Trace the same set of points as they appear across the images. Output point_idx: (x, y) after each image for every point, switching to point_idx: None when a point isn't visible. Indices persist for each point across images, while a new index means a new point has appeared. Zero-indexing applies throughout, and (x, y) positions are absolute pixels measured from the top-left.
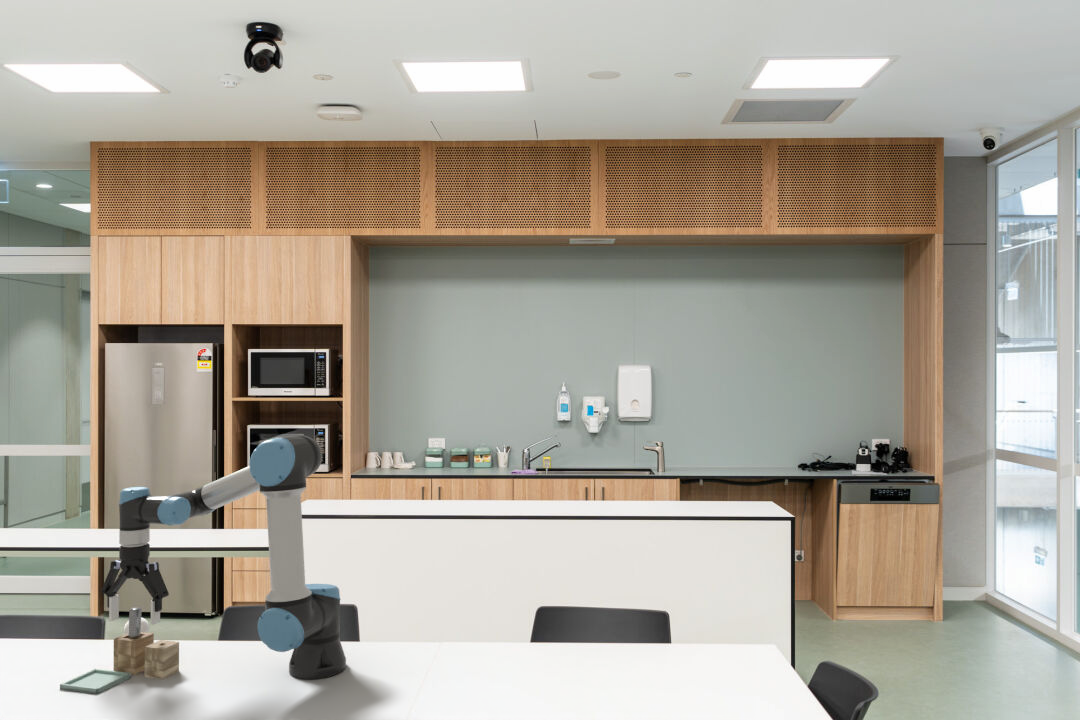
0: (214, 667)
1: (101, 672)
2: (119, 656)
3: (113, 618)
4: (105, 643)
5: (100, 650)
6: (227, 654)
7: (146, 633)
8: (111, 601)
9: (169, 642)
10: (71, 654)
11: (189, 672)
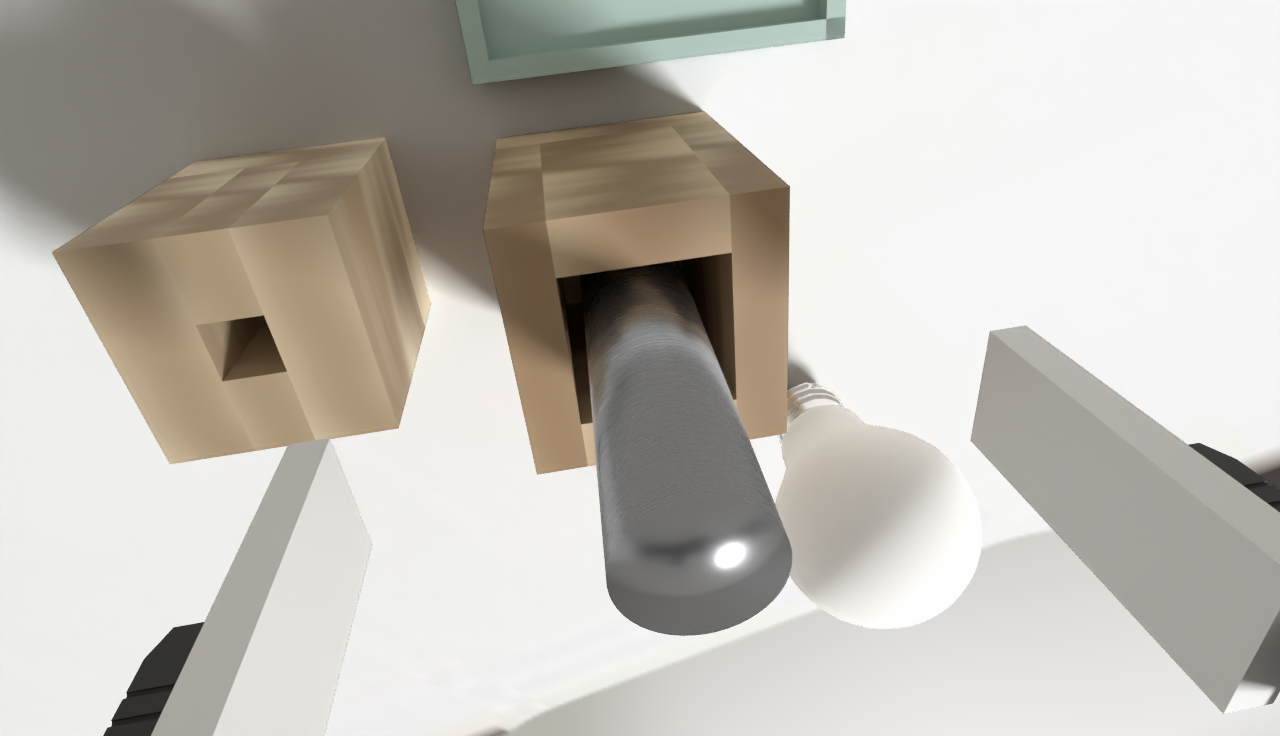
0: (111, 469)
1: (755, 25)
2: (673, 151)
3: (997, 376)
4: None
5: None
6: None
7: None
8: (1216, 514)
9: (237, 416)
10: (1235, 253)
11: None
